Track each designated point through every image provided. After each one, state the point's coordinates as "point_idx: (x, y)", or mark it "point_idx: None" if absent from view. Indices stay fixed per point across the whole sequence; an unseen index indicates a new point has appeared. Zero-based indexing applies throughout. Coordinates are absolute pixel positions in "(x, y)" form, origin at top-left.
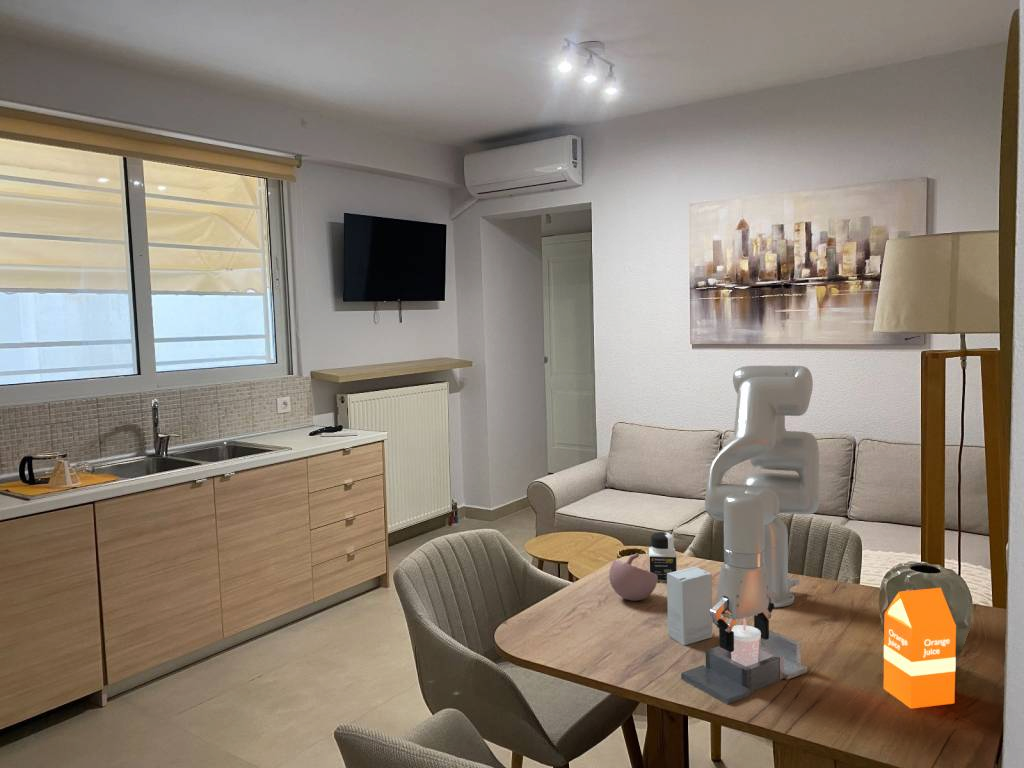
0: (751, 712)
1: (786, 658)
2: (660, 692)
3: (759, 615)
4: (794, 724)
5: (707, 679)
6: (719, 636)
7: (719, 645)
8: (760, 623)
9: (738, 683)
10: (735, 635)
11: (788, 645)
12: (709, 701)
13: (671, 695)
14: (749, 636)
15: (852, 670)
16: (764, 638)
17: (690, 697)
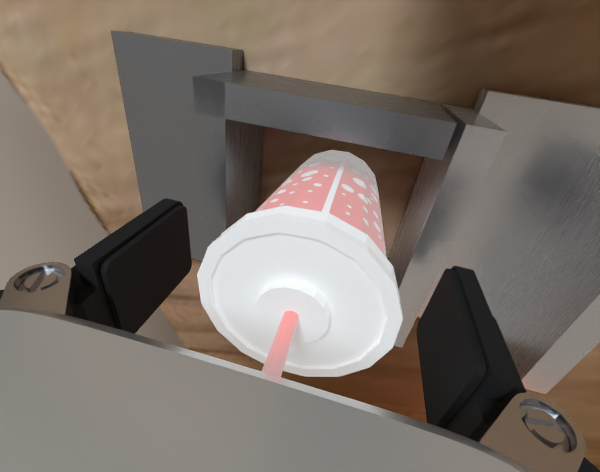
0: (184, 287)
1: (513, 287)
2: (21, 52)
3: (468, 428)
4: (222, 353)
5: (167, 147)
6: (128, 224)
7: (166, 198)
8: (442, 375)
9: None
10: (201, 295)
11: (532, 339)
12: (130, 197)
13: (48, 95)
14: (262, 342)
15: (592, 399)
16: (420, 323)
17: (95, 146)
